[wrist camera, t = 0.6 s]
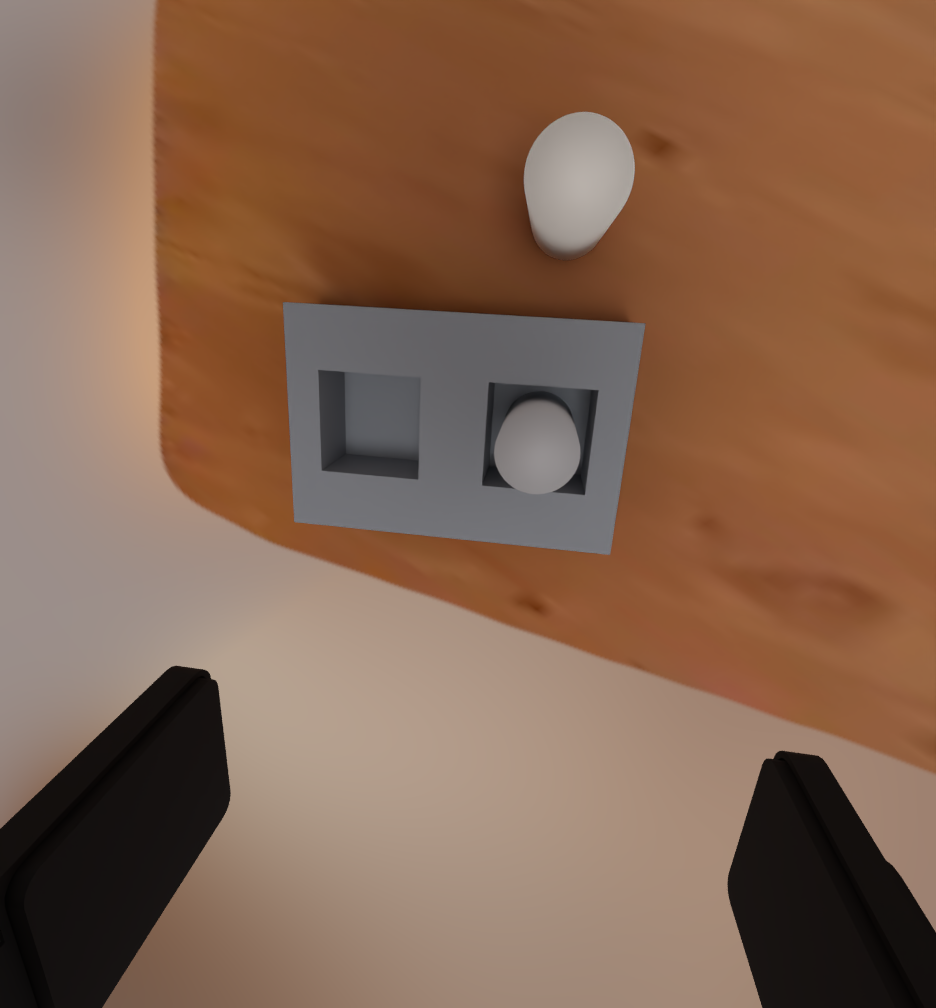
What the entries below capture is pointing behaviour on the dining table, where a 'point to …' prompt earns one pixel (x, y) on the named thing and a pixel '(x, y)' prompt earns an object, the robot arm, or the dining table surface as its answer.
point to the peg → (577, 183)
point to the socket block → (460, 423)
